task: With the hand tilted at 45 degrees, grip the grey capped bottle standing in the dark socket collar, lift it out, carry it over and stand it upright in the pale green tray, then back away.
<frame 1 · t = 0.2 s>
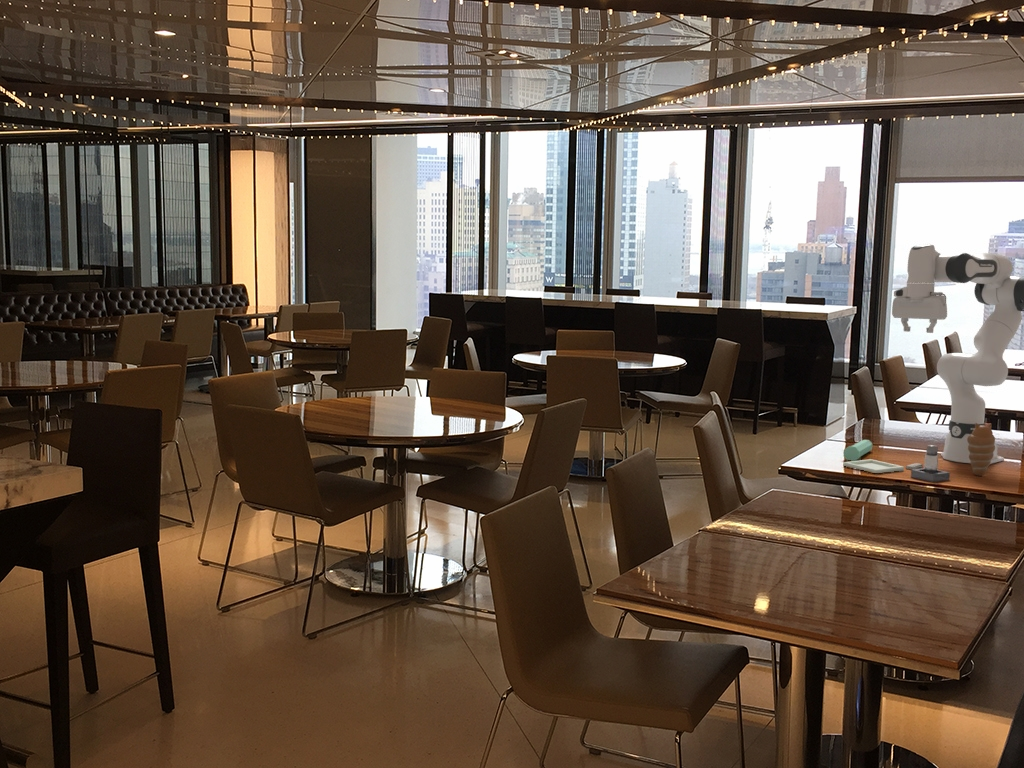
hand: (918, 332, 333), 47 cm above the table, tool pointing down, fingers open, 8 cm apart
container: (859, 456, 358), on the table
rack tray: (873, 468, 335), on the table
socket collar: (929, 478, 321), on the table
grey capped bottle: (931, 462, 320), in the socket collar
drift key: (914, 469, 338), on the table
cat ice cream: (979, 476, 327), on the table
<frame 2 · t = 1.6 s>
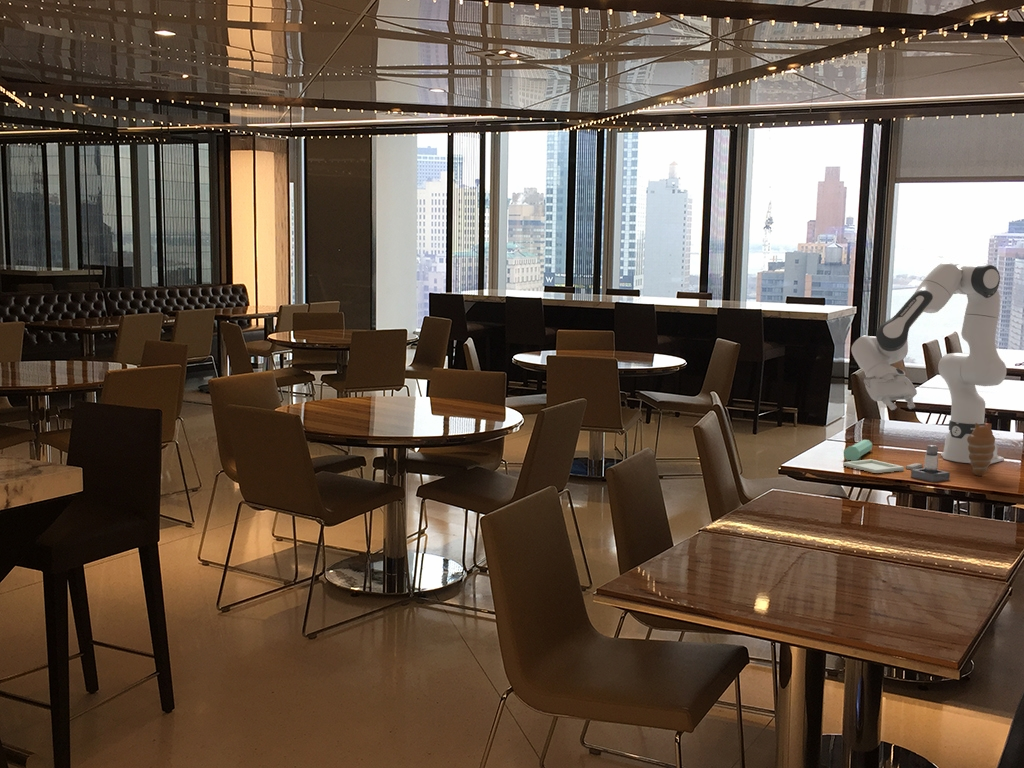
hand: (903, 408, 329), 22 cm above the table, tool tilted 45°, fingers open, 8 cm apart
nothing on the table moved.
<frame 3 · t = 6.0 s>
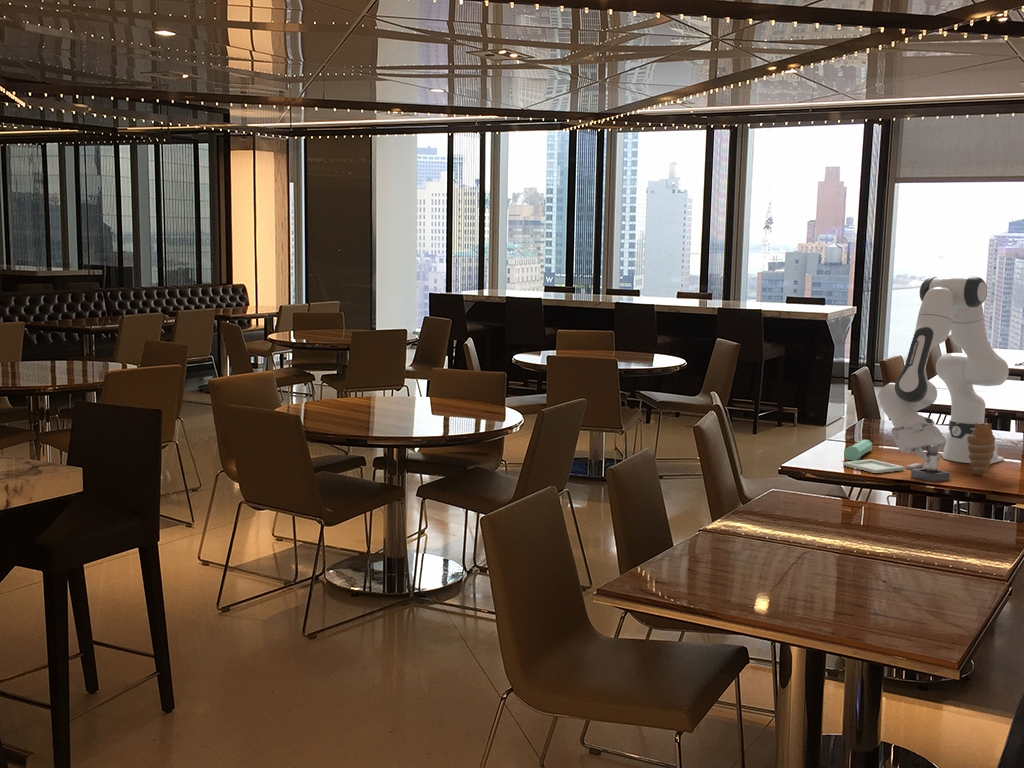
hand: (933, 459, 319), 6 cm above the table, tool tilted 45°, fingers closed on grey capped bottle, 4 cm apart
grey capped bottle: (931, 462, 320), in the socket collar, touching gripper
everything else where it was.
when the fingers open (8 cm above the table, at t = 11.1 s): grey capped bottle drops 1 cm, resting on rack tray.
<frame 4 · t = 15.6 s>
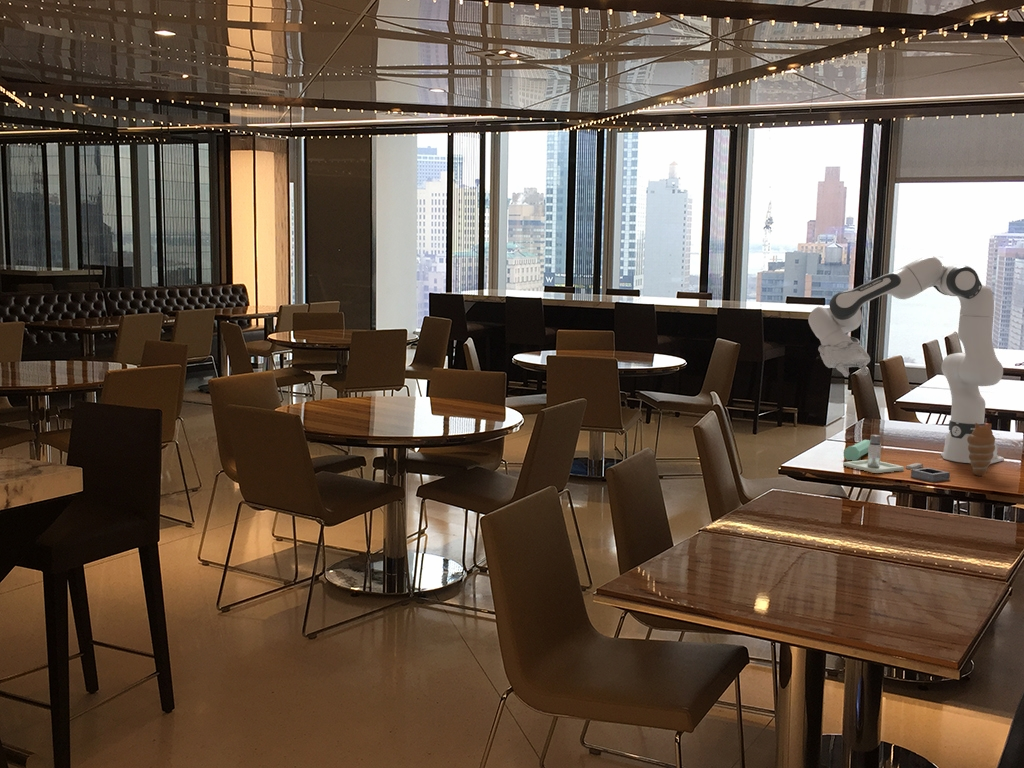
hand: (856, 374, 343), 31 cm above the table, tool tilted 45°, fingers open, 8 cm apart
grey capped bottle: (874, 451, 334), point 6 cm above the table, touching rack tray
everything else where it was.
at the end: grey capped bottle inside the target area on the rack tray (0.0 cm from its centre), point 6.1 cm above the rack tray's base; grey capped bottle tilted 1°; the gripper is holding nothing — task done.
